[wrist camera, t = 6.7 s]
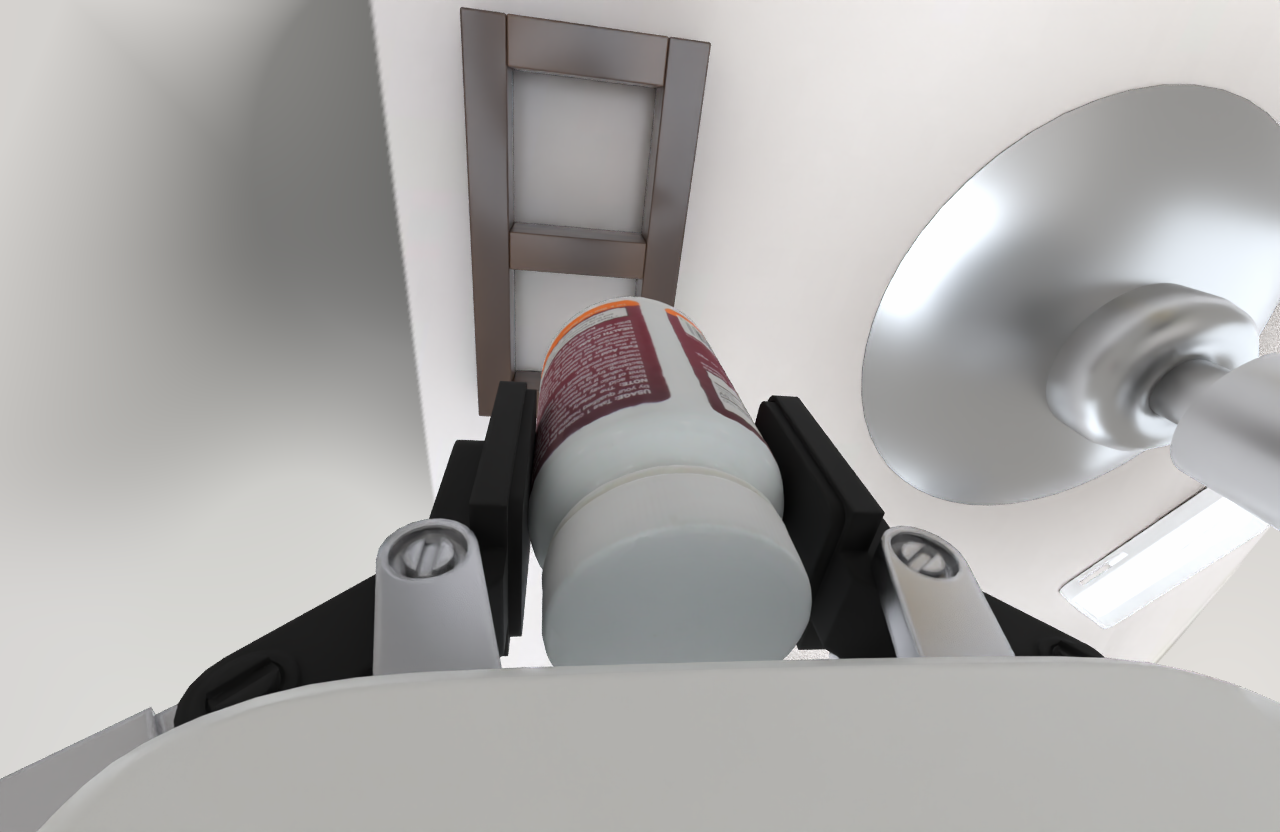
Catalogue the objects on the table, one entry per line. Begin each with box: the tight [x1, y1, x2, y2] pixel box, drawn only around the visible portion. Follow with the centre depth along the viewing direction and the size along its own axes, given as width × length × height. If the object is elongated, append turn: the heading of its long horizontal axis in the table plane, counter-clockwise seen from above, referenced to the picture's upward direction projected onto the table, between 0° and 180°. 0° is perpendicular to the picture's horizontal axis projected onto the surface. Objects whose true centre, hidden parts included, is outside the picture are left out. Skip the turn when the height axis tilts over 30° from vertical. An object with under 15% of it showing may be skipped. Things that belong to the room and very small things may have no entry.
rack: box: [460, 7, 711, 418], centre depth 28 cm, size 10×19×2 cm, turn 174°
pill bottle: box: [528, 296, 812, 667], centre depth 11 cm, size 5×5×8 cm
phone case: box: [1060, 488, 1269, 629], centre depth 46 cm, size 7×1×15 cm
